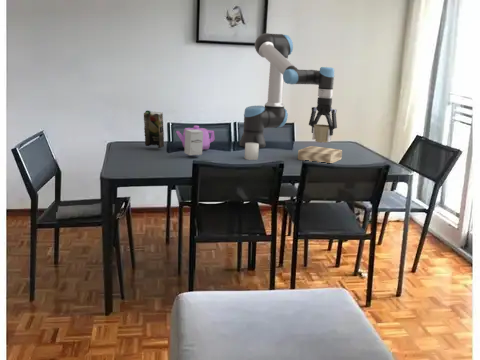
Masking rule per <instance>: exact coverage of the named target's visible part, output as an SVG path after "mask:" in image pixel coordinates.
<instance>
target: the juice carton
mask: <svg viewBox="0 0 480 360" xmlns="http://www.w3.org/2000/svg"><path fill="white" fill-rule="evenodd" d="M163 116H164V114H163V112H161V111H151V110H145V112H143V123H144V124H143V125H144V128H143V129H144V132H143V133H144V144H145V146H146V147H149V146H157V148H158V149H161V148H163V147H164V146H165V139H164V138H165V133H164V117H163Z"/></svg>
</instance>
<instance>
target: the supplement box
mask: <svg viewBox="0 0 480 360" xmlns="http://www.w3.org/2000/svg"><path fill="white" fill-rule="evenodd" d="M202 146H203V131H201V130H185V148H184V154H186V155H188V156H202V155H203V149H202Z"/></svg>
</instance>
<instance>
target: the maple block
mask: <svg viewBox="0 0 480 360" xmlns="http://www.w3.org/2000/svg"><path fill="white" fill-rule="evenodd" d="M342 157H343V150H342V149H337V148H330V147H329V148H328V147H322V146H315V145H310V146H306V147H304V148H301V149H298V152H297V160H299V161H305V160H309V161H308V162H312V161H317V162H316V163H319V162H326V163H332V164H333V163H336V162H338V161H340V160H342ZM326 163H325V164H326Z"/></svg>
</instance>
